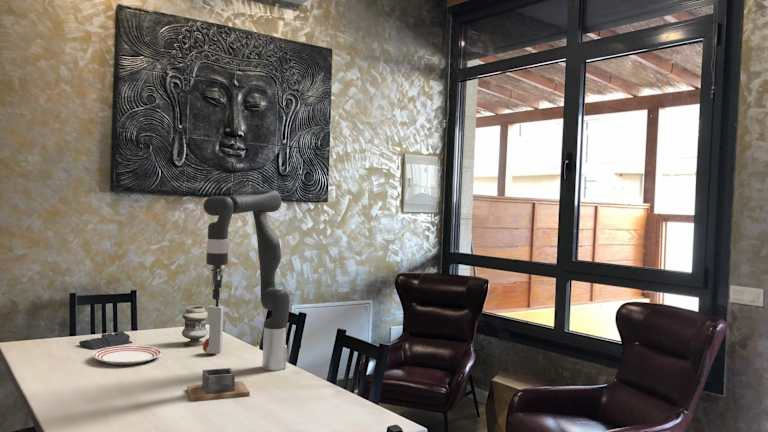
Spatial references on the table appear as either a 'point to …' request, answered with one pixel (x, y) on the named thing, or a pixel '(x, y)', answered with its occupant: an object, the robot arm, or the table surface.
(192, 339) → the apothecary jar
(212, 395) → the phone dock
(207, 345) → the apple
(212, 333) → the vintage mobile phone
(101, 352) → the dinner plate
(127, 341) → the dark slate chunk
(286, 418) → the table surface
